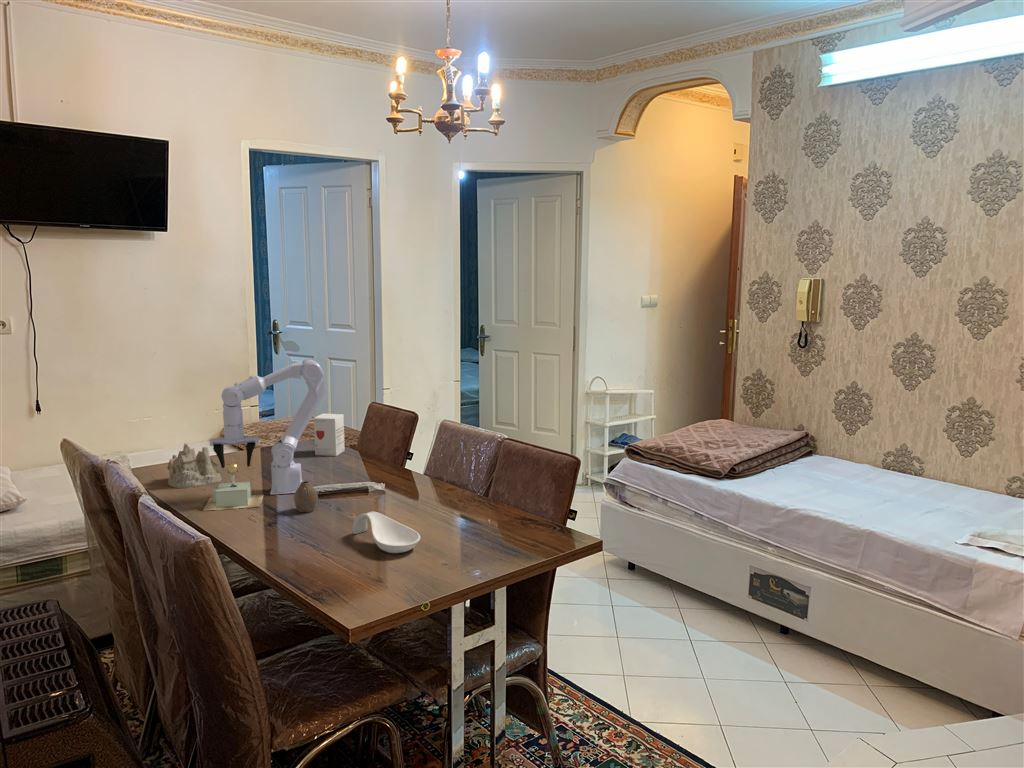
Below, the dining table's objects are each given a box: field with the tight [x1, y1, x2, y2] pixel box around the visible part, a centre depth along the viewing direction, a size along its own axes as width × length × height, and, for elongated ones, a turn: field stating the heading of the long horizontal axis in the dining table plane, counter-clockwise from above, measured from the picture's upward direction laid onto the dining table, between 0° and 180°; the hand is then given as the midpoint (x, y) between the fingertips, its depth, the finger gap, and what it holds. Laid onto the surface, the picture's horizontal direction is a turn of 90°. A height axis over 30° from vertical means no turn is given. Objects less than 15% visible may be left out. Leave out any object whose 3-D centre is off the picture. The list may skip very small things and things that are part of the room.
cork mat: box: [203, 494, 264, 512], centre depth 230 cm, size 16×12×1 cm
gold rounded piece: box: [226, 462, 239, 487], centre depth 228 cm, size 7×7×8 cm
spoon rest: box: [351, 511, 421, 554], centre depth 196 cm, size 24×12×7 cm, turn 46°
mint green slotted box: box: [212, 480, 252, 508], centre depth 229 cm, size 10×9×5 cm
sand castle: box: [166, 442, 223, 489], centre depth 253 cm, size 16×16×15 cm
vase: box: [293, 480, 319, 513], centre depth 222 cm, size 7×7×9 cm
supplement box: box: [313, 413, 345, 457], centre depth 290 cm, size 9×9×15 cm
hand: (236, 466), depth 236 cm, fingers open, 7 cm apart
